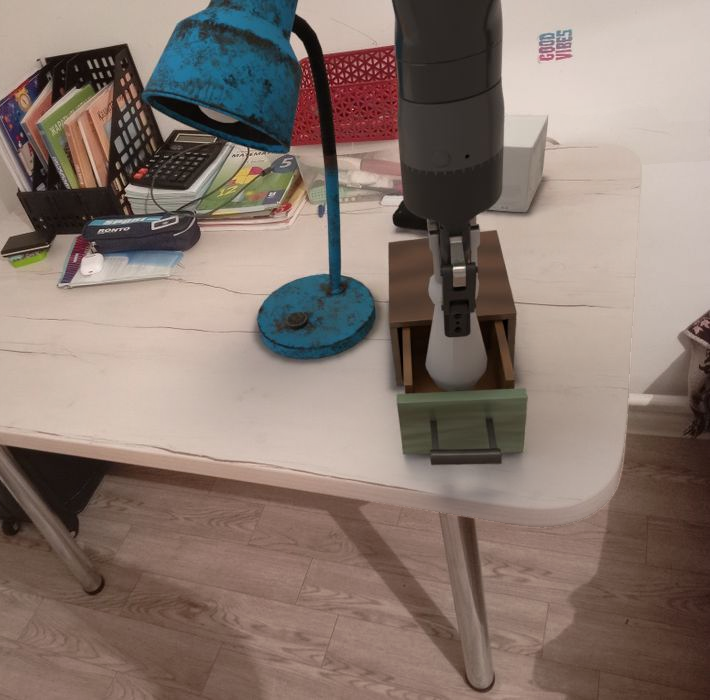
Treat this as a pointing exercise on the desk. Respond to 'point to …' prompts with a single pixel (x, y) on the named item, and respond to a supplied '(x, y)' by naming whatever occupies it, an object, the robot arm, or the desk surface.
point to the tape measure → (408, 219)
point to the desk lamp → (266, 146)
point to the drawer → (461, 405)
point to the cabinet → (415, 305)
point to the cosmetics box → (522, 160)
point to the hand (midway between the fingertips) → (455, 316)
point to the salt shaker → (454, 350)
